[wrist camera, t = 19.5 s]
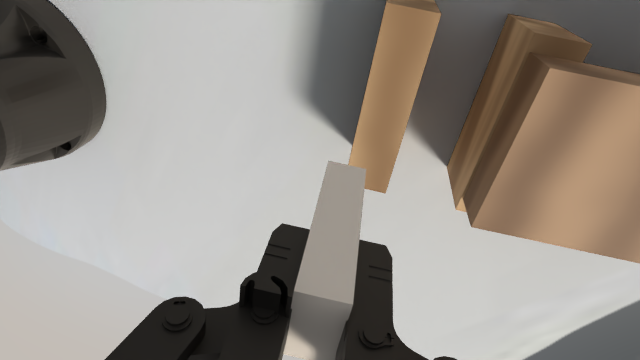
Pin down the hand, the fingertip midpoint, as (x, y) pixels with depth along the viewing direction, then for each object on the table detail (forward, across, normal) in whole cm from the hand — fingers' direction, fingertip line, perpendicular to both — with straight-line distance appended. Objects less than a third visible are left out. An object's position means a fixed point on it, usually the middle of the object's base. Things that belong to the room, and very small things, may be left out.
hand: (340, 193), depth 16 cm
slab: (+10, +16, 0) cm, 19 cm away
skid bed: (+16, +6, 0) cm, 17 cm away
